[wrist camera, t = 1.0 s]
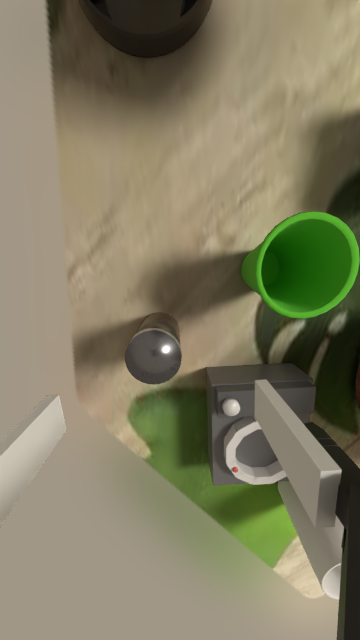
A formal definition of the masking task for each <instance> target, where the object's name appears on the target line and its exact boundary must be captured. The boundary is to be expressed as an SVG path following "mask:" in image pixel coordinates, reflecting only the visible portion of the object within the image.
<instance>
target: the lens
mask: <svg viewBox="0 0 360 640" xmlns="http://www.w3.org/2000/svg"><path fill="white" fill-rule="evenodd" d="M181 357H182V355H181V347H180V332H179V326H178V323H177V321H176V320H175V319H174V318H173V317H172V316H171V315H169V314H167V313H163V312H157V313H153V314H151V315H149V316H148V317H147V318H146V319H145V320H144V322H143V323H142V325H141V326H140V328H139V329H138V331H137V332H136V334H135V336H134V337H133V338H132V339H131V341H130V343H129V344H128V347H127V349H126V353H125V362H126V366H127V368H128V370H129V372H130V373H131V374H132V376H134V377H135V378H136V379H137V380H139V381H141V382H144V383H147V384H160V383H164V382H166V381H168V380H170V379H171V378H172V377H173V376H174V375H175V374H176V373H177V371H178V370H179V368H180V364H181Z"/></svg>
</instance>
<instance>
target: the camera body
mask: <svg viewBox="0 0 360 640" xmlns="http://www.w3.org/2000/svg"><path fill="white" fill-rule="evenodd" d="M265 379H266V380H267V381H268V382H269V383H270V384H271V386H272V387H273V388H274V389H275V390H276V392H277V393H278V394H279V395H280V396H281V398H282V399H283V400H284V401H285V402H286V404H287V405H288V406H289V407H290V408H291V410H292V411H293V412H294V413H295V414H296V416H297V417H298V418H299V419H300V420H301V422H302V423H309V413H314V405H315V396H316V386H315V385H313V384H312V383H313V379H312V378H311V377H309V376H308V375H307V374H306V373H304V372H303V371H302V370H300V369H299V368H298V367H297V366H295V365H294V364H293V363H281V364H262V365H242V366H223V367H206V386H207V434H208V459H209V465H210V471H211V476H212V482H213V485H227V484H245V483H250V484H253V485H258V484H272V483H275V482H280V481H289V479H288V477H287V475H286V473H285V472H284V470H283V468H282V466H281V464H280V462H279V460H278V459H277V457H276V455H275V453H274V451H273V449H272V448H271V446H270V444H269V442H268V440H267V438H266V436H265V435H264V433H263V431H262V429H261V427H260V425H259V424H258V422H257V420H256V418H255V380H265Z"/></svg>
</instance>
